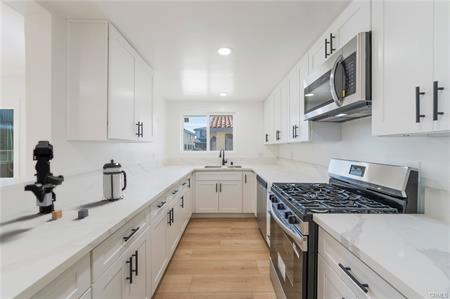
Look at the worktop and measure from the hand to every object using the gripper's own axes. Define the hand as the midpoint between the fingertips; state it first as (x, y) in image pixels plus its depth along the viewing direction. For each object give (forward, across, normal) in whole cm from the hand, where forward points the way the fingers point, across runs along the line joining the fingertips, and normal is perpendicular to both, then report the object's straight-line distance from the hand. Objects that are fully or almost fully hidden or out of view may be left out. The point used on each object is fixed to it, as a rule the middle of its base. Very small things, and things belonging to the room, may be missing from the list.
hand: (44, 201), depth 121 cm
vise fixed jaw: (+11, +9, -14) cm, 20 cm away
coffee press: (+12, +55, -14) cm, 58 cm away
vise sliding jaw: (+11, +9, 0) cm, 15 cm away
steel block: (+2, 0, 0) cm, 2 cm away
